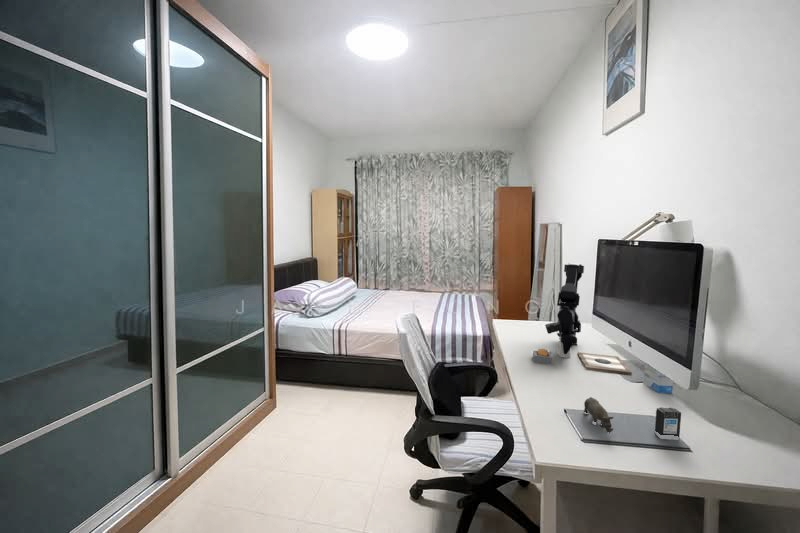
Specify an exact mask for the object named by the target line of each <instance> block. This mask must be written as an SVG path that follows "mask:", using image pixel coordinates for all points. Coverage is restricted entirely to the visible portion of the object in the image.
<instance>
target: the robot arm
mask: <svg viewBox="0 0 800 533" xmlns="http://www.w3.org/2000/svg"><path fill="white" fill-rule="evenodd" d="M563 267H564V269H563V272H564V273H565V277H566V278H565V283H564V285H562V286H561V288H560V291H558V296H557V304H556V306H559V307H560V308H559V311H558V313H557V318H558V319H557V321H555V322H550V323H547V324H545V325H544V327H545V329H546V332H547V334H550V335H551V334H552V333H556V335H557V336H558V339H559V342H560V341H561V342H562V343H563V351H564V354H567V353H568V351H569V350H570V348H571V349H572V347H573V345H574V346H577V345H578V338H577V333H578V334H579V333H582V331H581V329H582V324H581V320H579V315H578V313H577V312H576V309H577V308H578V306H580V305H579V304H580V297H581V296H580V294H579V293H578V287H579V286H578V285H579V281H580V280H581V278H582V276H583V274H585V273H584V271H585V266H584V265H582V263H575V262H573V263H572V262H568V263H567V264H564V266H563ZM570 351H571V350H570Z"/></svg>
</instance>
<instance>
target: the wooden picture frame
mask: <svg viewBox="0 0 800 533" xmlns="http://www.w3.org/2000/svg"><path fill="white" fill-rule="evenodd" d="M577 356H578V359H579V360H580V362H581V363H582V365H583V367H584V368H585V370H588V371H596V372H604V373H605V372H606V373H613V374H614V373H615V374H620V373H622V375H628V374H633V372H632V371H631V370H630V369H629V367H628V366H627V365H626V364H625V363H624V362H623V360H622V359H621V358H620V357H619V356H616V355H608V354H607V355H606V354H597V353H589V352H580V351H578V352H577Z"/></svg>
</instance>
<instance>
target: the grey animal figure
mask: <svg viewBox="0 0 800 533" xmlns="http://www.w3.org/2000/svg"><path fill="white" fill-rule="evenodd" d="M583 406H584V410H583V412H586V413H588V414H589V415H591V417H592V421H594V422H596V423H597V421H600V424H602V426H603V427H602V428H604V429H605V431H606V433H608V432H609V433H608V434H610V432H611V433H612V432H613V431H614V428H613V427H612V422H611V420H613V419H614V416H609V415H608V411H607V410H606V408H604V407H603V405H602V404H600V402H599V400H597V399H596V398H593V397H592V396H590V397H589V398H586V399H585V400H584V405H583Z"/></svg>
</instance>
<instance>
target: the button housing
mask: <svg viewBox="0 0 800 533" xmlns="http://www.w3.org/2000/svg"><path fill="white" fill-rule="evenodd" d="M537 354H538V350H532V359H533V363H535V364H543V365H550V366H551V365H553V355H552V352H551V351H548V356H541V355H537Z"/></svg>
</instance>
